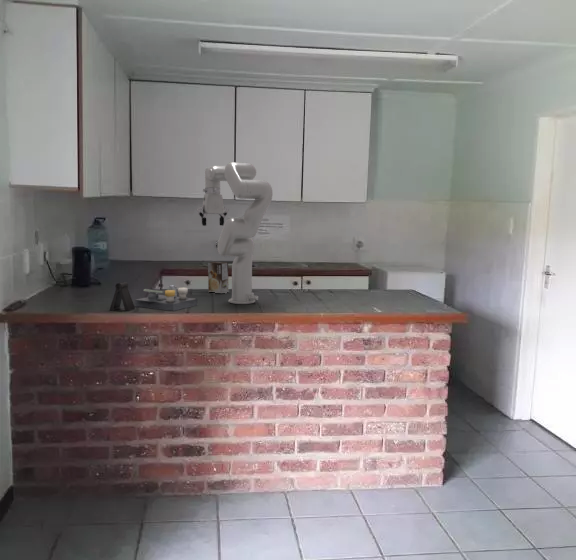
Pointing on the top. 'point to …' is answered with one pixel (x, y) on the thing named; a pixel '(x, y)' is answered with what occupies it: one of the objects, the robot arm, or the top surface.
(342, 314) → the top surface
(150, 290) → the rocker paddle
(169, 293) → the amber button
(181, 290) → the ivory button
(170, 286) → the slider knob
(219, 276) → the coffee box
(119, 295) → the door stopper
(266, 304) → the top surface
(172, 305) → the console
